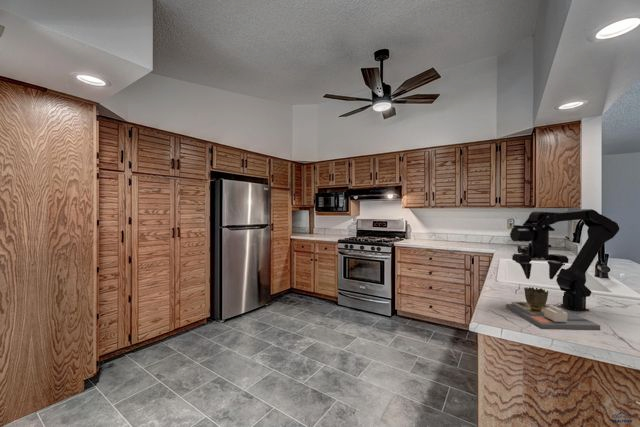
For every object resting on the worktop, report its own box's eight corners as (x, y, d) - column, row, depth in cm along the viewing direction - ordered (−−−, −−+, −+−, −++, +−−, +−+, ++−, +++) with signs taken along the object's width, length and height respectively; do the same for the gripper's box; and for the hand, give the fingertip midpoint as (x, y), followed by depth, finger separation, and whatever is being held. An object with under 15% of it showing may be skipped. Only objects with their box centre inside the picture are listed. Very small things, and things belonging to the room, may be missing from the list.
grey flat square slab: (553, 308, 113) (553, 304, 113) (600, 329, 93) (600, 325, 93) (506, 307, 114) (506, 303, 114) (541, 328, 94) (542, 323, 94)
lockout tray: (540, 305, 113) (540, 302, 113) (564, 316, 101) (564, 312, 101) (511, 304, 113) (511, 301, 113) (531, 315, 102) (531, 312, 102)
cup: (552, 313, 103) (552, 292, 103) (530, 312, 104) (530, 291, 104) (540, 306, 110) (541, 287, 110) (520, 305, 112) (520, 286, 112)
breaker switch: (555, 316, 100) (555, 305, 100) (567, 322, 95) (567, 310, 95) (544, 316, 100) (544, 304, 100) (555, 321, 95) (555, 309, 95)
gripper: (548, 239, 121) (548, 274, 121) (504, 239, 122) (504, 274, 122) (569, 242, 110) (569, 281, 110) (521, 242, 111) (520, 280, 111)
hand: (539, 279), depth 114 cm, fingers open, 9 cm apart
